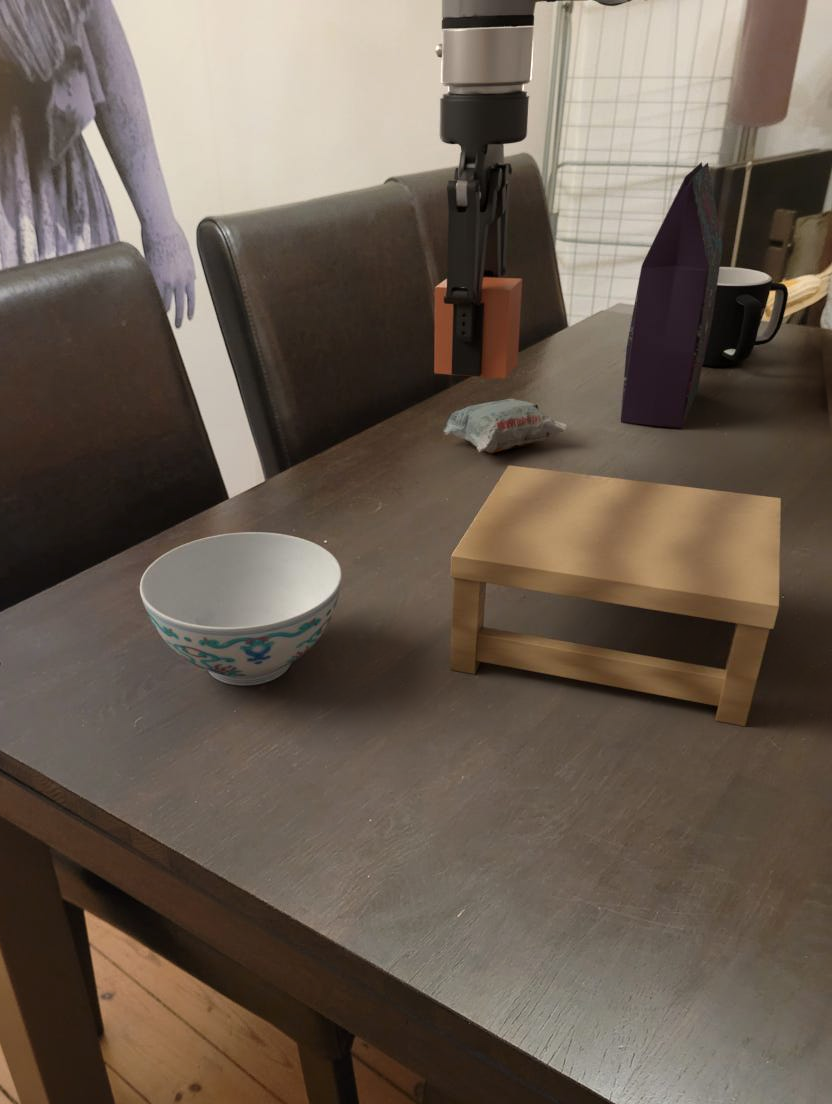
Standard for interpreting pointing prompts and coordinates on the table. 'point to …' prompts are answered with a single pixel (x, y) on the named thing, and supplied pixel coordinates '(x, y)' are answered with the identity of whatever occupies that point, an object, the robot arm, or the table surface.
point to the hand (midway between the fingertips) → (474, 365)
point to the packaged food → (502, 425)
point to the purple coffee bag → (674, 309)
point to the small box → (484, 327)
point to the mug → (742, 315)
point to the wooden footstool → (623, 576)
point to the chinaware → (242, 602)
